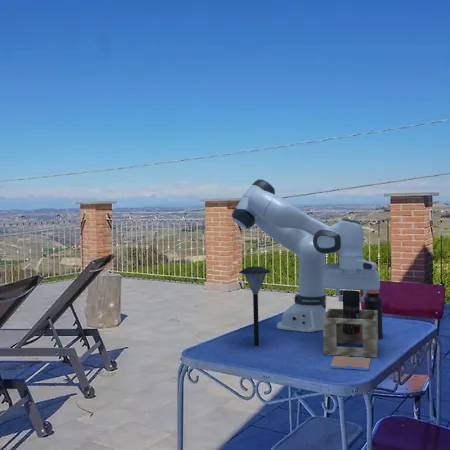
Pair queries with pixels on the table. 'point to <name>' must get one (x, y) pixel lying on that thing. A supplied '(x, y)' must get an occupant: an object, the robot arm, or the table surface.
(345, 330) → the deodorant
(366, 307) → the bottle
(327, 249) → the robot arm
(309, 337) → the table surface
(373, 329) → the crate
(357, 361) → the tile
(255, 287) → the solar garden light
